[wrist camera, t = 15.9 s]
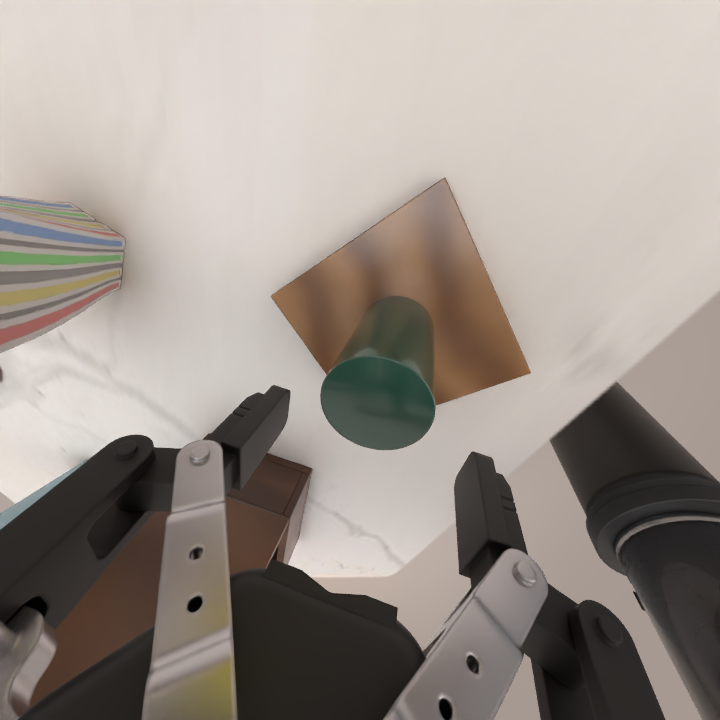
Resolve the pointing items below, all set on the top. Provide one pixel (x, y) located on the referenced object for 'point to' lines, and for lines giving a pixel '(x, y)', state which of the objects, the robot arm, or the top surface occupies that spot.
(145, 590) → the lid
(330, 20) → the top surface
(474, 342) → the plate
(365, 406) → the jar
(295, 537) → the brown wooden box
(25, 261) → the vase
